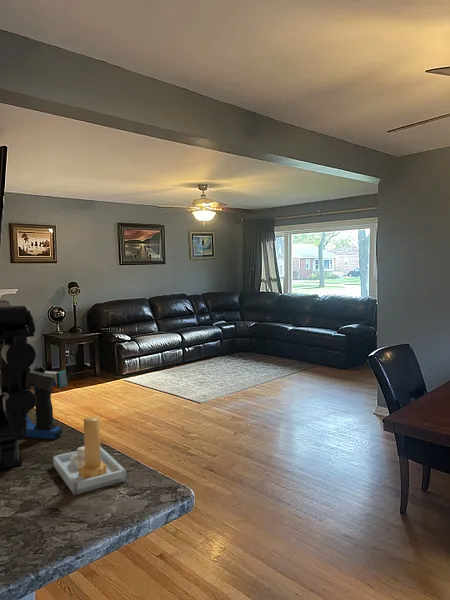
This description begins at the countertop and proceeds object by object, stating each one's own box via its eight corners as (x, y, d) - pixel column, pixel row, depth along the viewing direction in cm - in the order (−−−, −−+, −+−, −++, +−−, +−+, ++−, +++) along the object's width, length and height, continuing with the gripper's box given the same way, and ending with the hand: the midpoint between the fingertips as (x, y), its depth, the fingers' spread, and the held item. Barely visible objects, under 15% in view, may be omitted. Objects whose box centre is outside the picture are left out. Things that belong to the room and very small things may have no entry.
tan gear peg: (73, 475, 108) (72, 420, 107) (93, 465, 113) (92, 413, 112) (91, 481, 104) (90, 425, 103) (112, 471, 109) (111, 417, 109)
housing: (53, 466, 116) (52, 446, 115) (100, 455, 122) (99, 437, 122) (74, 495, 101) (73, 473, 100) (126, 480, 108) (125, 460, 107)
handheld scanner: (61, 440, 133) (60, 372, 132) (11, 436, 136) (10, 370, 135) (69, 435, 137) (68, 369, 136) (21, 431, 140) (20, 367, 139)
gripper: (60, 364, 100) (62, 434, 101) (40, 351, 116) (42, 412, 117) (4, 371, 94) (7, 445, 95) (-9, 356, 109) (-6, 421, 110)
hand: (15, 429), depth 104 cm, fingers open, 9 cm apart
